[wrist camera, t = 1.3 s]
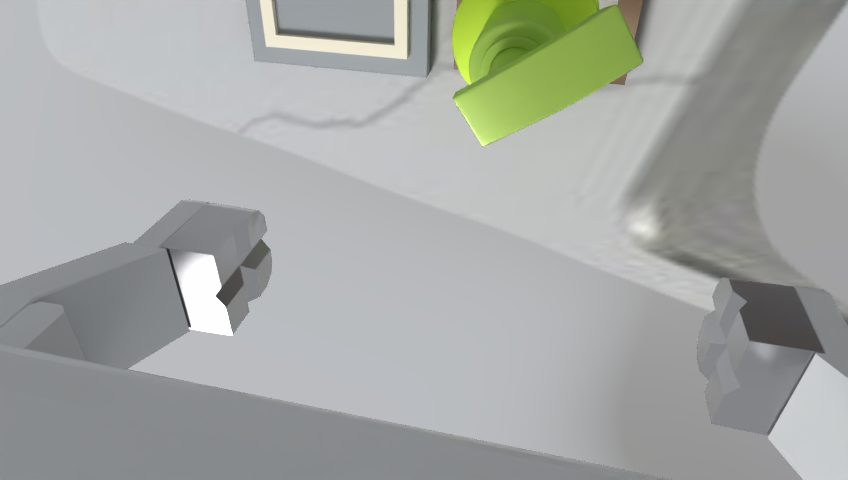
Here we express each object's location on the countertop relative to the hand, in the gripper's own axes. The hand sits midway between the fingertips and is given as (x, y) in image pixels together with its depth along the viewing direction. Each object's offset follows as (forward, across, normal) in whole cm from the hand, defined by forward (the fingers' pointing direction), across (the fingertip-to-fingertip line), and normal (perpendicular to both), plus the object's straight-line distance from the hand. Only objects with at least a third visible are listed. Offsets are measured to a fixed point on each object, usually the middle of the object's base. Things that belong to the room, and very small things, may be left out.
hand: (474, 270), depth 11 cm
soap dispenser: (+29, 0, 0) cm, 29 cm away
